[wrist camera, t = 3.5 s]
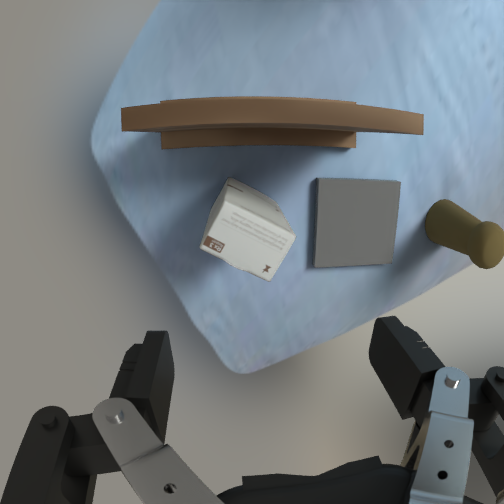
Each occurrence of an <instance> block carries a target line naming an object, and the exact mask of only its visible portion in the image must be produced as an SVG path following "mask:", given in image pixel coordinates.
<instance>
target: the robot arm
mask: <svg viewBox="0 0 504 504" xmlns="http://www.w3.org/2000/svg"><path fill="white" fill-rule="evenodd" d="M369 359H370V363H371V365H372V366H373V368H374V370H375V372H376V374H377V375H378V377H379V379H380V381H381V382H382V384H383V386H384V388H385V389H386V391H387V393H388V394H389V396H390V398H391V400H392V402H393V403H394V405H395V407H396V409H397V410H398V412H399V414H400V416H401V418H402V419H407V418H411V417H414V418H415V422H414V424H413V427H412V430H411V434H410V437H409V440H408V444H407V447H406V450H405V453H404V456H403V459H402V462H401V464H400V466H399V465H393V464H382V463H381V461H380V458H379V456H374V457H370V458H366V459H362V460H358V461H353V462H348V463H346V464H344V465H341V466H339V467H337V468H334V469H332V470H330V471H327V472H325V473H322V474H320V475H317V476H302V475H288V474H269V475H255V476H242V482H243V485H241V486H237V487H234V488H231V489H228V490H226V491H224V492H222V493H220V494H218V495H217V496H216V495H215V494H214V493H213V492H212V491H211V490H210V489H209V488H208V487H207V486H206V485H205V484H204V483H203V482H202V481H201V480H200V479H199V478H198V476H197V475H196V474H195V473H194V472H193V471H192V470H191V469H190V468H189V467H188V466H187V464H186V463H185V462H184V461H183V460H182V459H181V458H180V456H179V455H178V454H177V453H176V452H175V451H174V450H173V448H172V447H170V446H169V445H168V444H166V445H164V442H165V435H166V428H167V421H168V414H169V408H170V401H171V394H172V388H173V382H174V362H173V356H172V351H171V346H170V340H169V334H168V332H167V331H147V333H146V336H145V338H144V341H143V344H134V345H133V346H132V347H131V348H130V349H129V350H128V351H127V352H126V354H125V356H124V359H123V363H122V364H121V367H120V371H119V372H118V375H117V377H116V380H115V383H114V386H113V389H112V391H111V394H110V397H109V399H107V400H104V401H102V402H100V403H99V404H98V405H97V406H96V407H95V409H94V411H93V413H91V414H86V415H80V416H71V417H69V416H68V414H67V413H66V411H65V410H64V409H62V408H60V407H57V406H48V407H44V408H42V409H40V410H39V411H37V412H36V413H35V414H34V415H33V417H32V419H31V421H30V423H29V426H28V428H27V430H26V433H25V435H24V438H23V440H22V443H21V445H20V448H19V451H18V453H17V456H16V458H15V461H14V464H13V466H12V469H11V472H10V475H9V478H8V481H7V484H6V487H5V490H4V493H3V496H2V499H1V502H0V504H92V502H93V496H94V490H95V484H96V479H97V474H103V473H111V472H117V471H122V473H123V474H124V476H125V478H126V479H127V480H128V482H129V484H130V485H131V487H132V488H133V490H134V491H135V492H136V494H137V495H138V497H139V498H140V500H141V501H142V502H143V504H483V503H480V502H478V501H475V500H473V499H471V498H469V497H467V496H464V492H465V486H466V481H467V475H468V468H469V462H470V455H471V450H472V452H473V453H474V455H475V457H476V459H477V461H478V463H479V465H480V466H481V468H482V470H483V472H484V474H485V476H486V478H487V480H488V482H489V484H490V486H491V487H492V489H493V491H494V493H495V496H496V504H504V435H503V434H502V432H501V430H500V429H499V427H498V426H497V424H496V423H495V420H496V418H497V416H498V415H499V414H500V416H501V417H502V419H503V420H504V368H503V367H498V366H496V367H492V368H490V369H489V370H488V371H487V373H486V375H485V377H484V378H475V379H469V378H468V376H467V375H466V374H465V373H464V372H463V371H461V370H460V369H457V368H454V367H445V366H444V365H443V363H442V362H441V361H440V359H439V358H438V357H437V356H436V355H435V353H434V352H433V351H432V350H431V349H430V348H428V345H427V344H426V343H425V341H424V342H423V339H422V338H421V337H420V336H419V334H418V333H417V332H415V331H414V330H412V329H411V328H409V327H407V326H404V325H403V324H402V323H401V322H400V321H399V319H398V318H397V317H396V316H389V317H381V318H377V319H376V321H375V324H374V329H373V334H372V338H371V343H370V347H369Z"/></svg>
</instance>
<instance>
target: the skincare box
mask: <svg viewBox="0 0 504 504" xmlns="http://www.w3.org/2000/svg"><path fill="white" fill-rule="evenodd" d="M295 238H296V235H295V234H294V232H293V230H292V229H291V227H290V225H289V223H288V221H287V220H286V218H285V216H284V215H283V213H282V211H281V209H280V208H279V206H278V204H277V203H276V202H275V201H274V200H272V199H271V198H269V197H268V196H266V195H264V194H263V193H261V192H259V191H257V190H255V189H254V188H252V187H250V186H248V185H246V184H244V183H242V182H240V181H238V180H236V179H233V178H231V177H228V179H227V181H226V183H225V184H224V186H223V188H222V190H221V192H220V194H219V195H218V197H217V199H216V201H215V203H214V204H213V206H212V208H211V211H210V214H209V218H208V221H207V224H206V228H205V231H204V234H203V238H202V241H201V244H200V249H201V250H203V251H205V252H207V253H210V254H212V255H214V256H216V257H218V258H220V259H222V260H224V261H226V262H227V263H228V264H230V265H231V266H233V267H235V268H237V269H240V270H243V271H247V272H249V273H251V274H253V275H255V276H257V277H260V278H262V279H264V280H266V281H268V282H270V281H271V279H272V277H273V275H274V274H275V272H276V271H277V269H278V267H279V265H280V264H281V262H282V261H283V259H284V257H285V255H286V254H287V252H288V250H289V249H290V247H291V245H292V243H293V242H294V240H295Z"/></svg>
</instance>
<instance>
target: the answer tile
mask: <svg viewBox="0 0 504 504" xmlns="http://www.w3.org/2000/svg"><path fill="white" fill-rule="evenodd" d="M400 185H401V182H399V181H394V180H375V179H348V178H316V205H315V229H314V248H313V266H314V267H315V268H318V267H337V266H356V265H373V264H390V263H392V258H393V251H394V243H395V236H396V227H397V218H398V209H399V198H400Z"/></svg>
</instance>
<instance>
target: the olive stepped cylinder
mask: <svg viewBox="0 0 504 504" xmlns="http://www.w3.org/2000/svg"><path fill="white" fill-rule="evenodd" d="M425 230H426V234H427V236H428V238H429V239H430V240H431V241H432V242H434V243H436V244H439V245H442V246H445V247H447V248H450V249H453V250H455V251H458V252H461V253H463V254H466V255H469V257H470V259H471V261H472V262H473V263H474V264H475V265H477V266H478V267H480V268H484V269H489V268H493V267H495V266H496V265H497V264H498V263H499V262H500V261H501V259H502V258H503V256H504V231H503V229H502V228H501V227H500V226H499V225H498V224H496V223H493V222H489V221H485V222H481V221H480V220H479V219H477V218H476V217H474V216H473V215H471V214H470V213H468V212H467V211H465V210H464V209H462V208H461V207H459V206H458V205H456V204H455V203H453V202H452V201H450V200H446V199H444V200H439V201H438V202H436V203H435V204H434V205H433V206H432V207H431V208H430V210H429V212H428V214H427V217H426V220H425Z"/></svg>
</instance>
